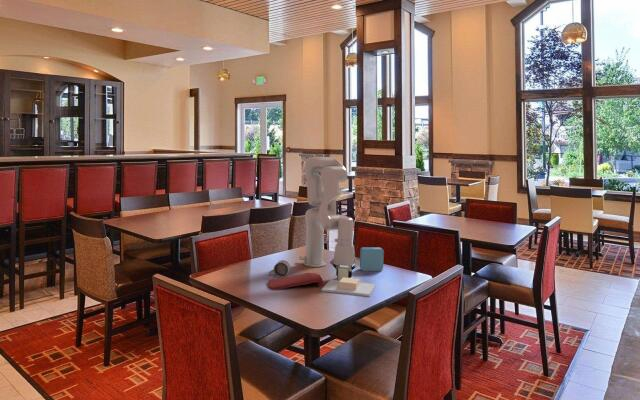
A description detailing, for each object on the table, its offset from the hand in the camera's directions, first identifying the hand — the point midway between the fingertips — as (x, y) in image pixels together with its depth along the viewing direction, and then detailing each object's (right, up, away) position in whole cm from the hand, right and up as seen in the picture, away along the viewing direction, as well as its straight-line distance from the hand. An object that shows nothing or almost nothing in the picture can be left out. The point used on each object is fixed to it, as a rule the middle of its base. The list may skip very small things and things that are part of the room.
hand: (343, 277), depth 231 cm
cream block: (0, -1, 0) cm, 1 cm away
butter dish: (+2, -3, -16) cm, 16 cm away
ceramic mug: (-33, 0, +4) cm, 33 cm away
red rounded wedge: (-24, -2, -12) cm, 26 cm away
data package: (+16, +1, +18) cm, 24 cm away
